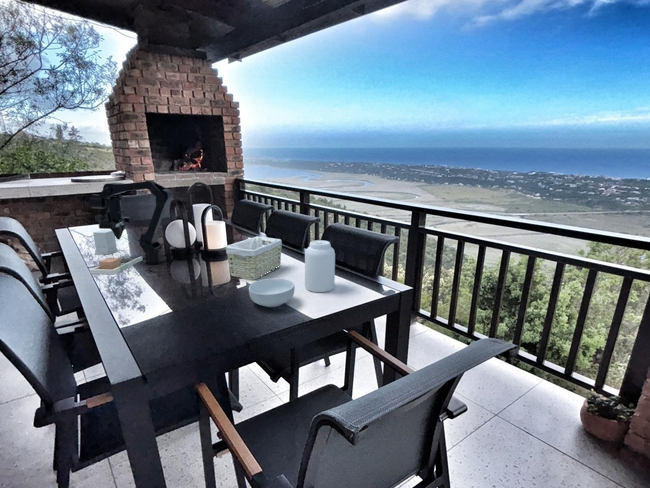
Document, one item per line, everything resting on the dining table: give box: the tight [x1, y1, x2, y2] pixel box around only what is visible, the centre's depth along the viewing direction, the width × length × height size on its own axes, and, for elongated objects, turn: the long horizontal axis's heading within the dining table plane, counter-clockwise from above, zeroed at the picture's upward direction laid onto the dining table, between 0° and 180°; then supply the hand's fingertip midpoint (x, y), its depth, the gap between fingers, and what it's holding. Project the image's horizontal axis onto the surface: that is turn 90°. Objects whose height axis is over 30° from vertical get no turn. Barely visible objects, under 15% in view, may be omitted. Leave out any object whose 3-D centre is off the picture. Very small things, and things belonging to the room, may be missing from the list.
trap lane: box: [89, 255, 143, 276], centre depth 165 cm, size 11×24×2 cm, turn 178°
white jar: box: [304, 239, 336, 293], centre depth 139 cm, size 12×12×20 cm
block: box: [99, 257, 122, 270], centre depth 160 cm, size 6×6×5 cm
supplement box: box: [92, 229, 118, 255], centre depth 188 cm, size 7×7×13 cm
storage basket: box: [225, 235, 283, 281], centre depth 159 cm, size 24×16×15 cm
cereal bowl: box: [248, 277, 295, 308], centre depth 125 cm, size 17×17×7 cm
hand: (118, 239), depth 169 cm, fingers closed
